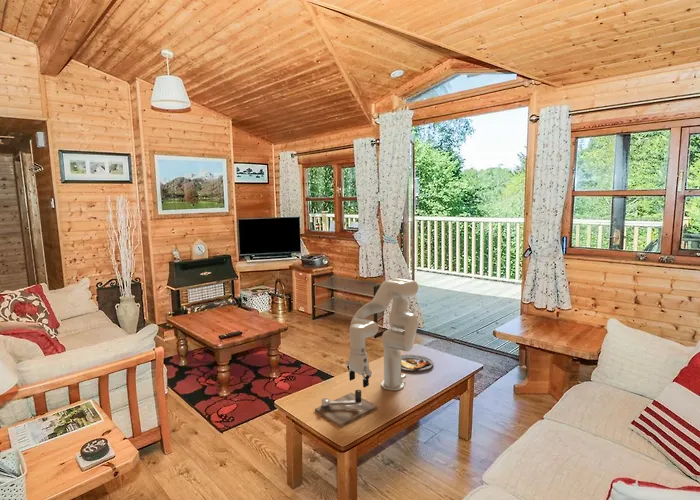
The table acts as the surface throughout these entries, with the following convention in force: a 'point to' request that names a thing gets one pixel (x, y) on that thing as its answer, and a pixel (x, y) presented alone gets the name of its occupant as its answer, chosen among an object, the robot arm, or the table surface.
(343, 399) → the cracker board
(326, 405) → the lever
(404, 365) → the food plate
